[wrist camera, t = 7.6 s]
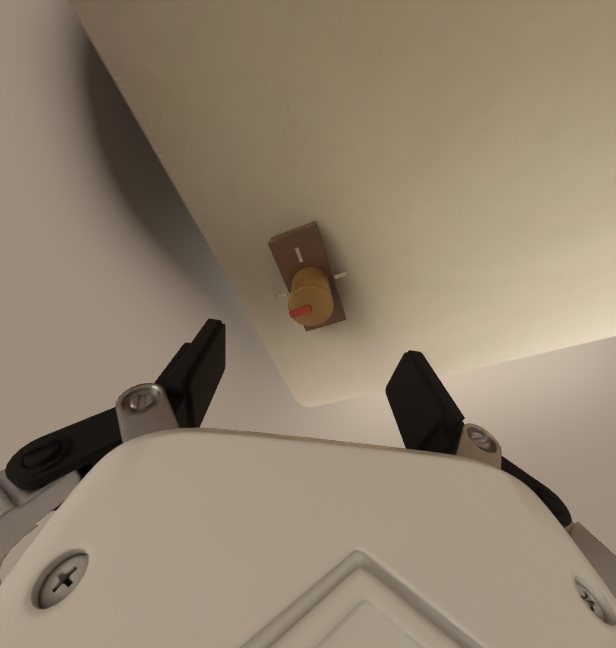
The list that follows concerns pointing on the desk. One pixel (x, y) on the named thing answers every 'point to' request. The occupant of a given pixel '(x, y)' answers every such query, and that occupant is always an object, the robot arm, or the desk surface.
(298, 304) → the knob
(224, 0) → the desk surface
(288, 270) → the dial panel
